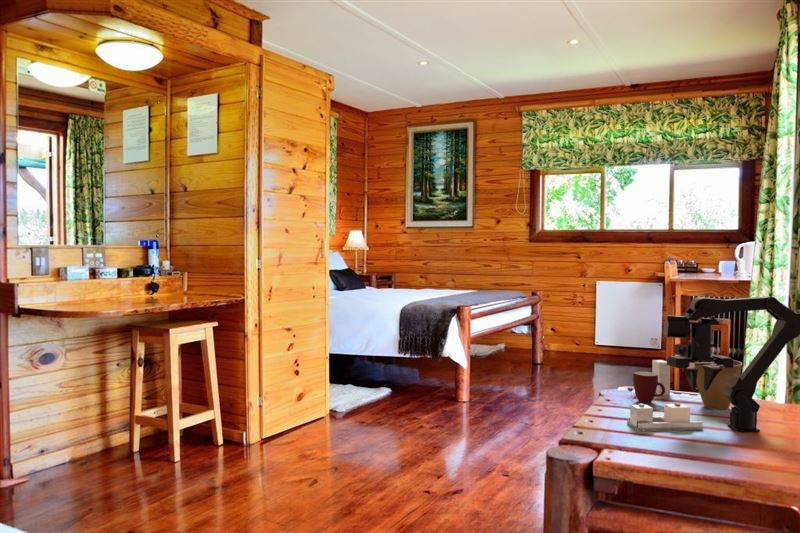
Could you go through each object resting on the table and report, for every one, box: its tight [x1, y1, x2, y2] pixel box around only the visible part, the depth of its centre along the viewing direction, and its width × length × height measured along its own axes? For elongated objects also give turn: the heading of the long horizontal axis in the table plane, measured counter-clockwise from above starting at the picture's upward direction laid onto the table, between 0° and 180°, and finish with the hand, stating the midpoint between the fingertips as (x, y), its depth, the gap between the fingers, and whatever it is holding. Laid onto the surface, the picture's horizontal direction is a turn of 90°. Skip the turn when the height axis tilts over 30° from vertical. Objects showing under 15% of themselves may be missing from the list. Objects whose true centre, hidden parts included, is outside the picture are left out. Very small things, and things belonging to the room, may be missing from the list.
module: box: [663, 402, 692, 422], centre depth 191 cm, size 6×4×6 cm, turn 98°
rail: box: [626, 403, 704, 432], centre depth 191 cm, size 20×8×7 cm, turn 98°
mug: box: [632, 370, 665, 404], centre depth 221 cm, size 10×8×10 cm
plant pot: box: [695, 359, 743, 411], centre depth 215 cm, size 15×15×16 cm
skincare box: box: [651, 359, 671, 396], centre depth 235 cm, size 6×4×12 cm
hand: (699, 390), depth 192 cm, fingers open, 4 cm apart
